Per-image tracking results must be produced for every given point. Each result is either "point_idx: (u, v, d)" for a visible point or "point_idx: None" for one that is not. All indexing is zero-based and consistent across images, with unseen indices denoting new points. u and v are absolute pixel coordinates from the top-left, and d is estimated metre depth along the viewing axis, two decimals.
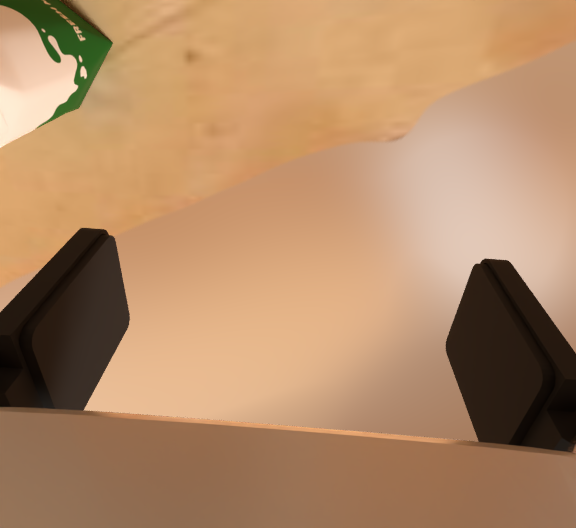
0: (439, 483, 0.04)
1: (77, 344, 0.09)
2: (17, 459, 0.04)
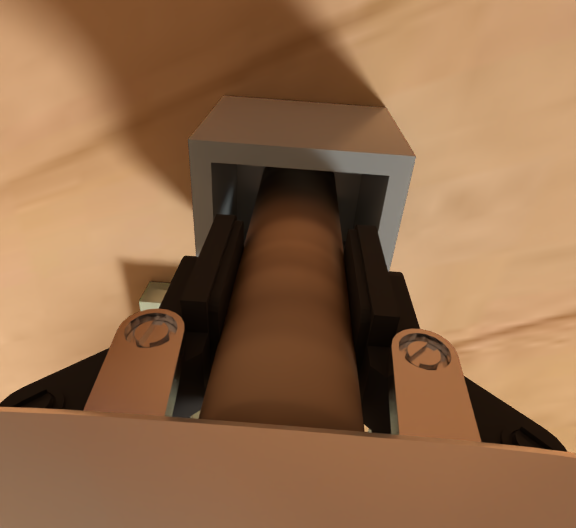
0: (439, 484, 0.04)
1: None
2: (17, 459, 0.04)
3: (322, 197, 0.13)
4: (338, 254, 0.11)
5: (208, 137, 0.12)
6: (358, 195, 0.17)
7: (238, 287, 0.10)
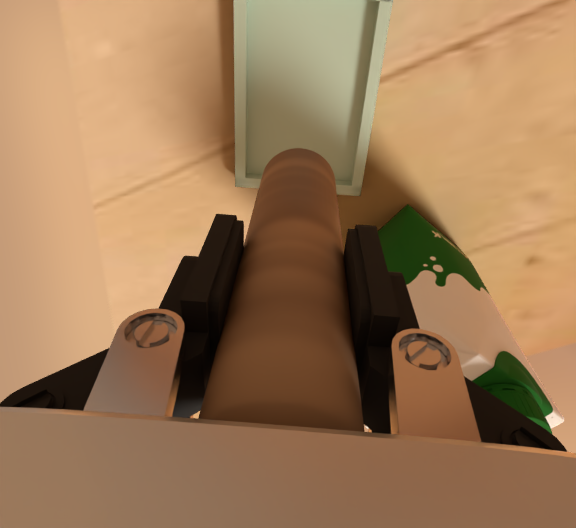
0: (439, 484, 0.04)
1: None
2: (17, 459, 0.04)
3: (322, 197, 0.13)
4: (338, 254, 0.11)
5: None
6: None
7: (238, 287, 0.10)
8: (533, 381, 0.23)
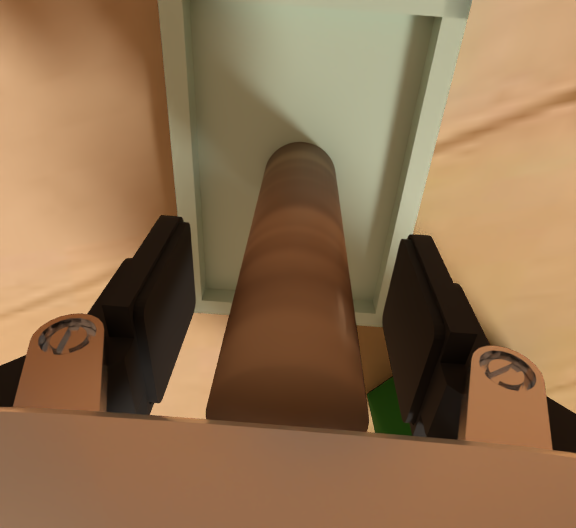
0: (439, 484, 0.04)
1: (167, 320, 0.10)
2: (17, 459, 0.04)
3: (324, 187, 0.14)
4: (340, 240, 0.12)
5: None
6: None
7: (246, 269, 0.10)
8: None
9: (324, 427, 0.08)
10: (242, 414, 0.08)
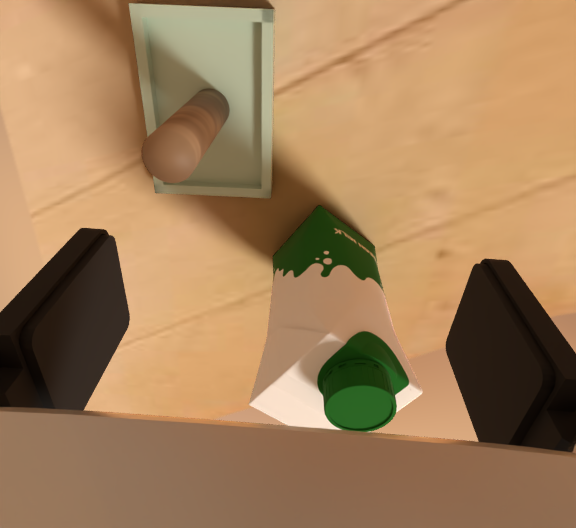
0: (439, 483, 0.04)
1: (77, 344, 0.09)
2: (17, 459, 0.04)
3: (209, 102, 0.30)
4: (207, 118, 0.28)
5: None
6: None
7: None
8: (393, 358, 0.25)
9: (181, 159, 0.24)
10: (153, 154, 0.24)
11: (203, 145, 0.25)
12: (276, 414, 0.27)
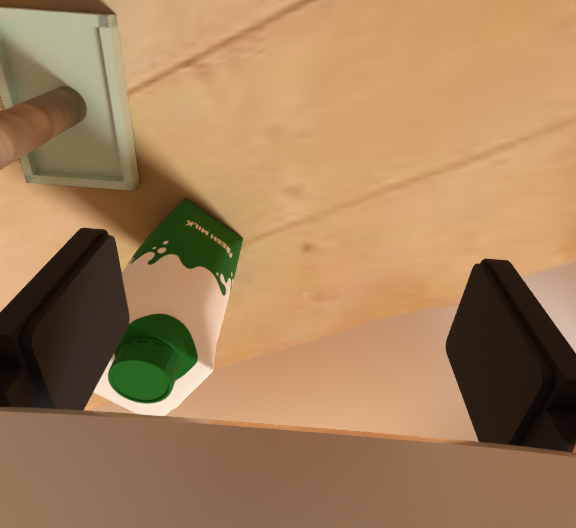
0: (439, 485, 0.04)
1: (77, 344, 0.09)
2: (17, 459, 0.04)
3: (50, 100, 0.32)
4: (37, 115, 0.30)
5: None
6: None
7: None
8: (187, 338, 0.28)
9: None
10: None
11: (19, 141, 0.28)
12: None
